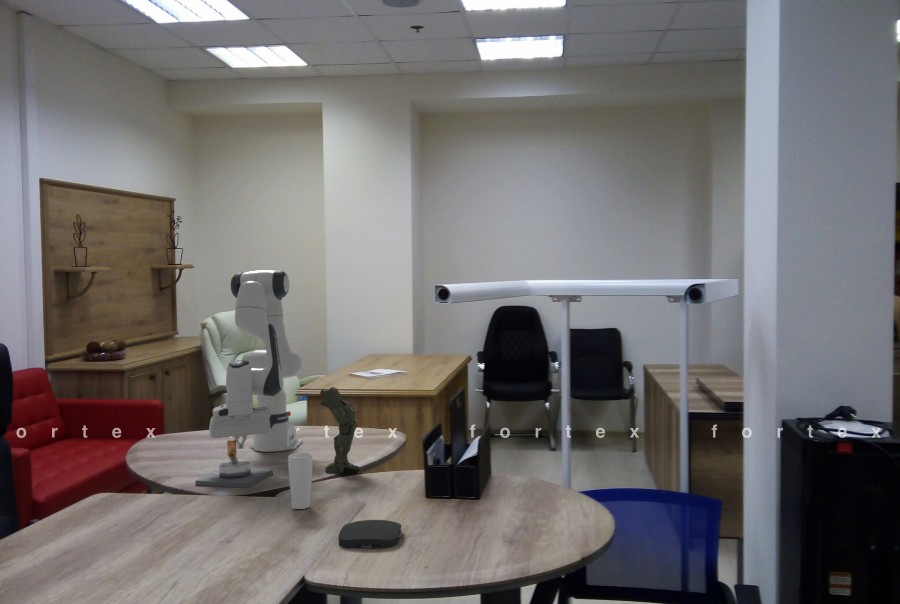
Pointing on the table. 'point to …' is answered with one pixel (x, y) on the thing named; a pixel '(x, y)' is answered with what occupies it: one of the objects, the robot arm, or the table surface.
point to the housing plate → (234, 479)
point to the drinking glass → (300, 479)
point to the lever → (234, 464)
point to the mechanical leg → (341, 430)
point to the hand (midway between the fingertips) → (240, 448)
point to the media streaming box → (370, 534)
